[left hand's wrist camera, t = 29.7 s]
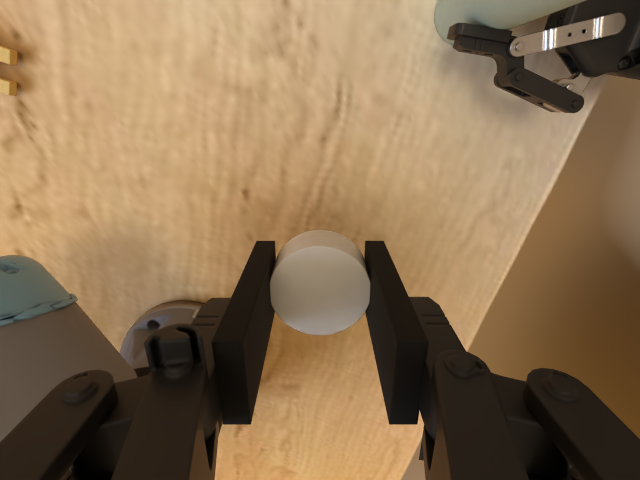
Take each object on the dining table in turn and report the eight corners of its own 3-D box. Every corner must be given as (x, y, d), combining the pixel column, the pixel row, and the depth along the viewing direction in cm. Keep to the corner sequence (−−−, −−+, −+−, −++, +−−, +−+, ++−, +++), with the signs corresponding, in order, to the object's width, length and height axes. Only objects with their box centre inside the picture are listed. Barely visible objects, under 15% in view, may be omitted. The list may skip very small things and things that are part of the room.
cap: (381, 249, 14) (389, 269, 13) (342, 322, 16) (345, 348, 14) (294, 214, 14) (290, 230, 12) (262, 292, 15) (254, 316, 14)
